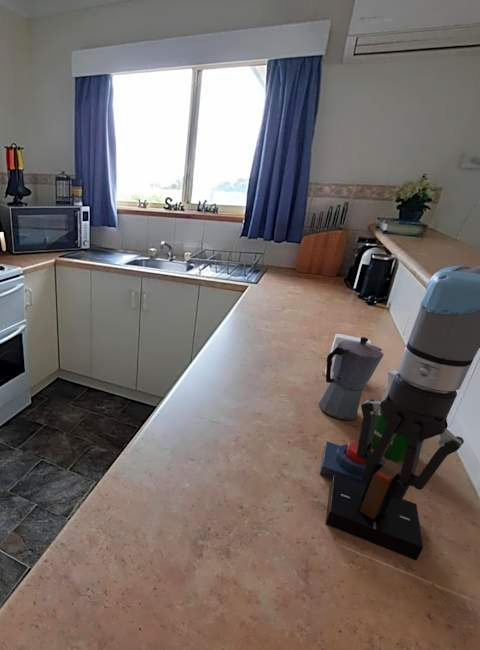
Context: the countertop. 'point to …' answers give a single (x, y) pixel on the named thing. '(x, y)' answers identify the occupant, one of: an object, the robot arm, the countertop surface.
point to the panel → (385, 530)
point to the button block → (342, 464)
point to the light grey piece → (337, 340)
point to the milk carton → (399, 442)
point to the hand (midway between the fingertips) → (375, 502)
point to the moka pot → (349, 377)
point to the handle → (379, 488)
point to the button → (354, 453)
